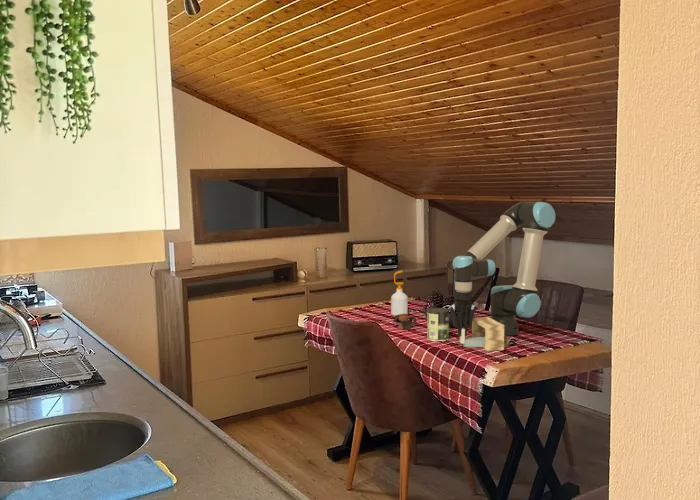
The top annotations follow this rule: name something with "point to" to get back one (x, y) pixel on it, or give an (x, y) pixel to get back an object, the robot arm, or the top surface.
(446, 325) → the coffee can
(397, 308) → the soap bottle
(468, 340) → the grey flat block
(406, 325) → the pottery mug
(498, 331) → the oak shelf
